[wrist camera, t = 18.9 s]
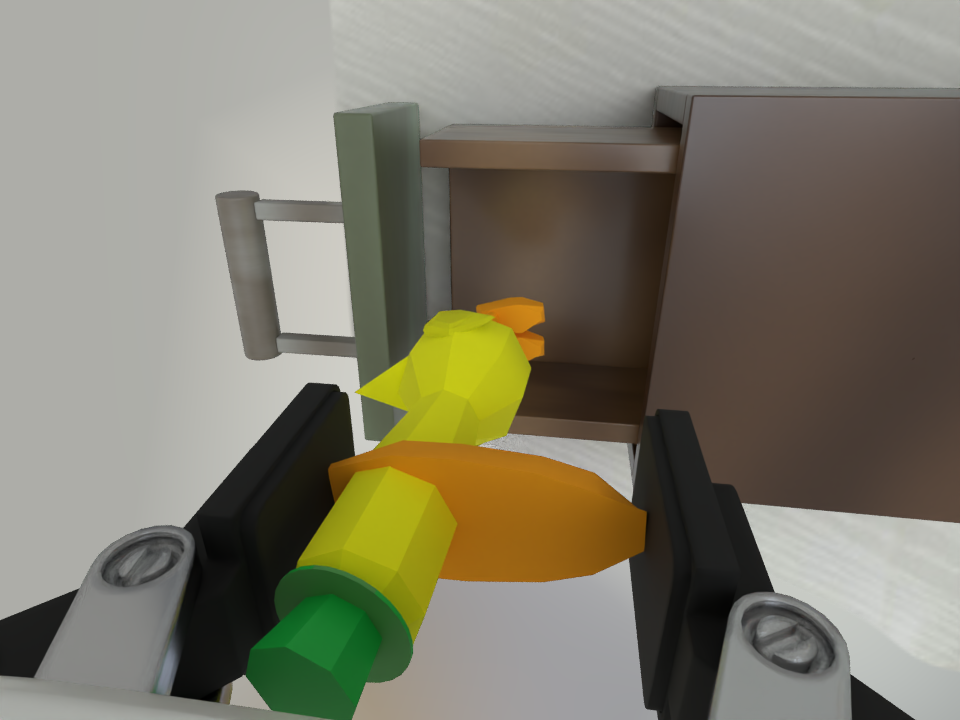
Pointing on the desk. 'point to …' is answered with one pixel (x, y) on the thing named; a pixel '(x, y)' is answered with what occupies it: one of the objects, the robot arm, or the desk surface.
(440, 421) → the toy figure
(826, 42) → the desk surface
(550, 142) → the drawer
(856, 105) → the cabinet
